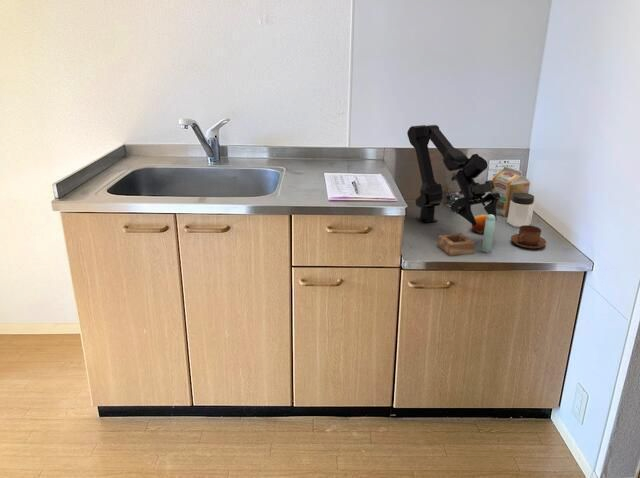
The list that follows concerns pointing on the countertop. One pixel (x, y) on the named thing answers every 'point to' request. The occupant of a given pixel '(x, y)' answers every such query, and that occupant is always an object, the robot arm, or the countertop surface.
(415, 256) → the countertop surface
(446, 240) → the wooden square socket block
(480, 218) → the fruit
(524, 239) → the cup and saucer
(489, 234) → the dowel
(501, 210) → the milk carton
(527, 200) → the jar
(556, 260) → the countertop surface
